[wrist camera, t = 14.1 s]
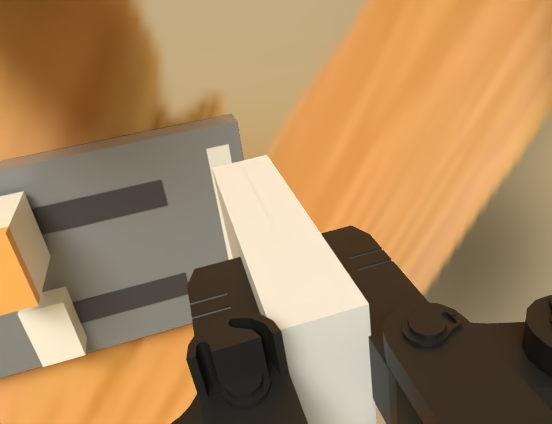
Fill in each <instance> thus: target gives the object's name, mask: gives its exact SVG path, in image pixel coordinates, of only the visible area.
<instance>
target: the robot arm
mask: <svg viewBox="0 0 552 424" xmlns="http://www.w3.org/2000/svg"><path fill="white" fill-rule="evenodd" d="M212 171H213V175H214V179H215V184H216V188H217V192H218V197H219V201H220V206H221V210H222V214H223V219H224V223H225V227H226V232H227V236H228V240H229V245H230V249H231V253H232V257H233V259H230V260H226V261H223V262H219V263H215V264H211V265H208V266H204V267H200V268H196V269H194V271H193V273H192V276H191V278H190V280H189V282H188V285H187V289H188V296H189V302H190V309H191V316H192V322H193V329H194V335H195V336H194V337H193V339H192V340H191V342H190V343H189V345H188V351H187V358H186V360H187V363H188V366H189V369H190V372H191V375H192V378H193V381H194V384H195V387H196V390H197V395H196V397H195V399H194V400H193V402H192V404H191V405H190V407H189V408H188V409H187V410H186V411H185V412H184V413H183V414H182V415H181V416H180V417H179V418H178V419H176V420H175V421H174V422H172V423H171V424H377V418H376V405H377V407H378V409H379V411H380V413H381V414H382V416H383V418H384V420H385V422H386V424H552V295H549V296H546V297H543V298H540V299H538V300H535V301H534V302H533V303H532V304H531V305H530V306H529V307H528V308H527V313H526V320H525V322H516V323H491V324H483V323H470V322H469V321H468V320H467V319H466V318H465V317H463V316H462V315H461V314H460V313H458V312H457V311H456V310H454V309H452V308H449V307H446V306H444V305H441V304H437V303H429V302H428V301H427V300H426V299H425V298H424V296H423V295H422V294H421V293H420V292H419V291H418V289H417V288H416V287H415V286H414V285H413V284H412V283H411V281H410V280H409V279H408V278H407V277H406V276H405V274H404V273H403V272H402V271H401V270H400V269H399V268H398V266H397V265H396V264H395V263H394V262H392V261H391V258H390V257H389V256H388V255H387V254H386V253H385V251H384V250H383V251H382V249H381V247H380V246H379V244H378V243H377V242H376V241H375V240H374V239H373V238H372V236H371V235H370V234H368V233H366V232H364V231H362V230H359V229H357V228H355V227H353V226H348V227H344V228H340V229H337V230H333V231H329V232H325V233H322V234H321V233H320V232H319V230H318V229H317V227H316V226H315V225H314V223H313V222H312V220H311V219H310V217H309V216H308V214H307V213H306V211H305V210H304V208H303V207H302V206H301V204H300V203H299V201H298V200H297V198H296V197H295V195H294V194H293V192H292V191H291V189H290V188H289V187H288V185H287V184H286V182H285V181H284V179H283V178H282V176H281V175H280V173H279V172H278V170H277V169H276V168H275V166H274V165H273V163H272V162H271V160H270V159H269V157H268V156H267V155H264V156H260V157H256V158H252V159H247V160H243V161H239V162H235V163H230V164H226V165H222V166H218V167H213V168H212Z"/></svg>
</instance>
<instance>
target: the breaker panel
mask: <svg viewBox="0 0 552 424" xmlns="http://www.w3.org/2000/svg"><path fill="white" fill-rule="evenodd" d="M239 161H243V153H242V147H241V141H240V135H239V129H238V123H237V120H236V119H235V118H234V116H233V115H232V114H228V115H223V116H218V117H214V118H209V119H204V120H199V121H194V122H189V123H184V124H179V125H174V126H170V127H165V128H160V129H155V130H150V131H145V132H140V133H135V134H130V135H126V136H121V137H116V138H111V139H106V140H101V141H96V142H91V143H86V144H82V145H77V146H72V147H67V148H62V149H57V150H52V151H47V152H42V153H38V154H33V155H28V156H23V157H18V158H13V159H8V160H3V161H0V196H4V195H8V194H13V193H18V192H22V191H24V193H25V195H26V198H27V200H28V202H29V205H30V207H31V210H32V212H33V214H34V217H35V219H36V222H37V224H38V227H39V229H40V231H41V234H42V236H43V239H44V241H45V243H46V246H47V248H48V251H49V253H50V255H51V256H50V260H49V264H48V269H47V273H46V277H45V281H44V285H43V289H42V293H41V298H40V302H39V306H35V307H31V308H28V309H24V310H20V311H16V312H12V313H8V314H5V315H1V316H0V378H2V377H6V376H9V375H13V374H16V373H20V372H23V371H27V370H30V369H34V368H37V367H41V366H43V367H45V366H49V365H52V364H56V363H59V362H63V361H66V360H70V359H73V358H77V357H80V356H84V355H85V354H86V353H90V352H93V351H97V350H100V349H104V348H107V347H111V346H114V345H118V344H121V343H125V342H128V341H132V340H135V339H139V338H142V337H146V336H149V335H153V334H156V333H160V332H163V331H167V330H170V329H174V328H177V327H181V326H184V325H188V324H191V323H193V322H192V316H191V309H190V302H189V296H188V289H187V285H188V282H189V280H190V278H191V276H192V273H193V271H194V269H196V268H200V267H204V266H208V265H211V264H215V263H219V262H223V261H226V260H230V259H233V257H232V253H231V249H230V245H229V240H228V236H227V232H226V227H225V223H224V219H223V214H222V210H221V206H220V201H219V197H218V192H217V188H216V184H215V179H214V175H213V171H212V168H213V167H218V166H222V165H226V164H230V163H235V162H239Z"/></svg>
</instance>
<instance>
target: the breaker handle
mask: <svg viewBox="0 0 552 424" xmlns="http://www.w3.org/2000/svg"><path fill="white" fill-rule="evenodd" d="M50 256H51V255H50V253H49V251H48V248H47V246H46V243H45V241H44V239H43V236H42V234H41V231H40V229H39V227H38V224H37V222H36V219H35V217H34V214H33V212H32V210H31V207H30V205H29V202H28V200H27V198H26V195H25V193H24V191H22V192H18V193H13V194H8V195H4V196H0V316H1V315H5V314H8V313H12V312H16V311H20V310H24V309H28V308H31V307H35V306H39V302H40V298H41V293H42V289H43V285H44V281H45V277H46V273H47V269H48V264H49V260H50Z"/></svg>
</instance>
